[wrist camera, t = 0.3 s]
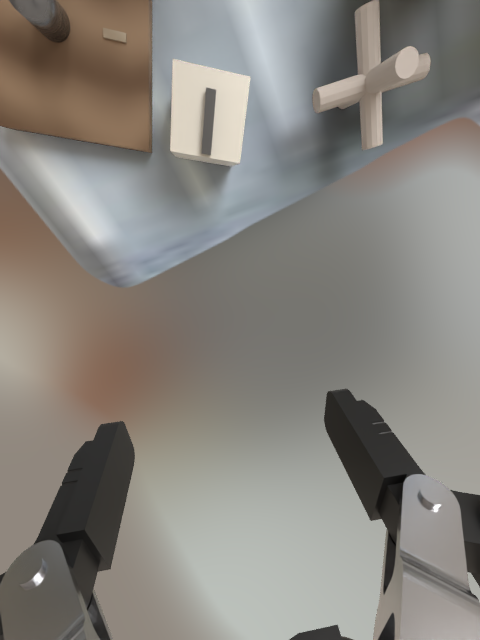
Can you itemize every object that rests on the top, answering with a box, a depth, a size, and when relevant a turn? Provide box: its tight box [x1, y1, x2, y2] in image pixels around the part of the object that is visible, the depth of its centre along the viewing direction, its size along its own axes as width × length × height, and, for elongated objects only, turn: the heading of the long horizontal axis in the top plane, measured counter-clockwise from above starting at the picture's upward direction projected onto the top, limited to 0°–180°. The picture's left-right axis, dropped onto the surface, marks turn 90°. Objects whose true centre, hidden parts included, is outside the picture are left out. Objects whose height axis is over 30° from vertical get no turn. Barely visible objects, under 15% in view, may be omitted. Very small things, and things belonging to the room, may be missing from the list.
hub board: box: [0, 0, 152, 153], centre depth 24 cm, size 12×13×2 cm
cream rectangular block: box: [170, 59, 250, 167], centre depth 25 cm, size 6×6×8 cm
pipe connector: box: [312, 0, 431, 150], centre depth 25 cm, size 10×10×10 cm
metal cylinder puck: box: [9, 0, 70, 43], centre depth 21 cm, size 3×3×4 cm
